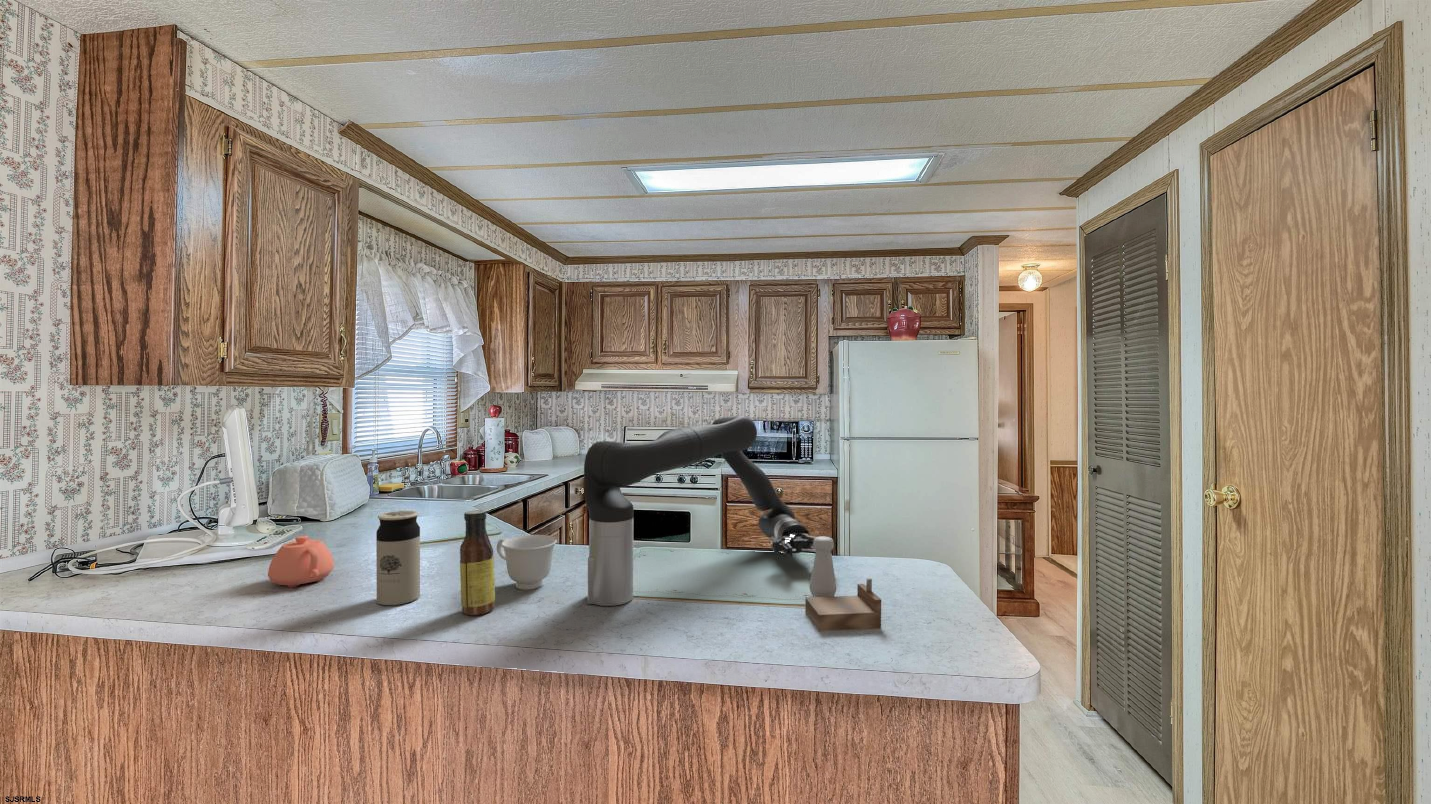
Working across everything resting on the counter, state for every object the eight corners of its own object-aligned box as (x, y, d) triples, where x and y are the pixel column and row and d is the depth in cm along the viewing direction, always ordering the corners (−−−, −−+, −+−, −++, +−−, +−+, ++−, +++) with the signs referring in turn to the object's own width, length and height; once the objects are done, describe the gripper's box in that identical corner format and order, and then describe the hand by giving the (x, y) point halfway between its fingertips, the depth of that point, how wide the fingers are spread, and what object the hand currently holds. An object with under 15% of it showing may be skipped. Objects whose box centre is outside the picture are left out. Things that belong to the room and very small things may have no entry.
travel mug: (396, 591, 125) (396, 509, 125) (428, 594, 124) (428, 511, 123) (367, 604, 117) (366, 516, 117) (401, 608, 116) (400, 519, 116)
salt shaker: (820, 604, 120) (820, 542, 120) (803, 595, 125) (804, 536, 125) (842, 600, 123) (843, 539, 122) (825, 591, 128) (826, 533, 127)
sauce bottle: (501, 607, 117) (501, 509, 116) (479, 618, 111) (479, 516, 110) (475, 603, 119) (475, 507, 119) (452, 614, 113) (452, 513, 113)
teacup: (515, 572, 139) (515, 531, 139) (567, 580, 133) (567, 537, 133) (478, 588, 128) (478, 543, 127) (533, 598, 122) (533, 551, 122)
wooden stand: (818, 631, 107) (819, 589, 106) (805, 612, 116) (805, 573, 115) (881, 628, 108) (881, 586, 108) (862, 610, 117) (863, 571, 117)
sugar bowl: (321, 569, 140) (321, 527, 140) (346, 580, 132) (346, 536, 132) (259, 582, 130) (259, 537, 130) (282, 596, 122) (282, 548, 122)
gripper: (764, 520, 149) (779, 536, 133) (817, 519, 151) (838, 535, 135) (764, 549, 149) (778, 568, 133) (817, 548, 151) (838, 567, 135)
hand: (809, 551), depth 134 cm, fingers open, 8 cm apart
